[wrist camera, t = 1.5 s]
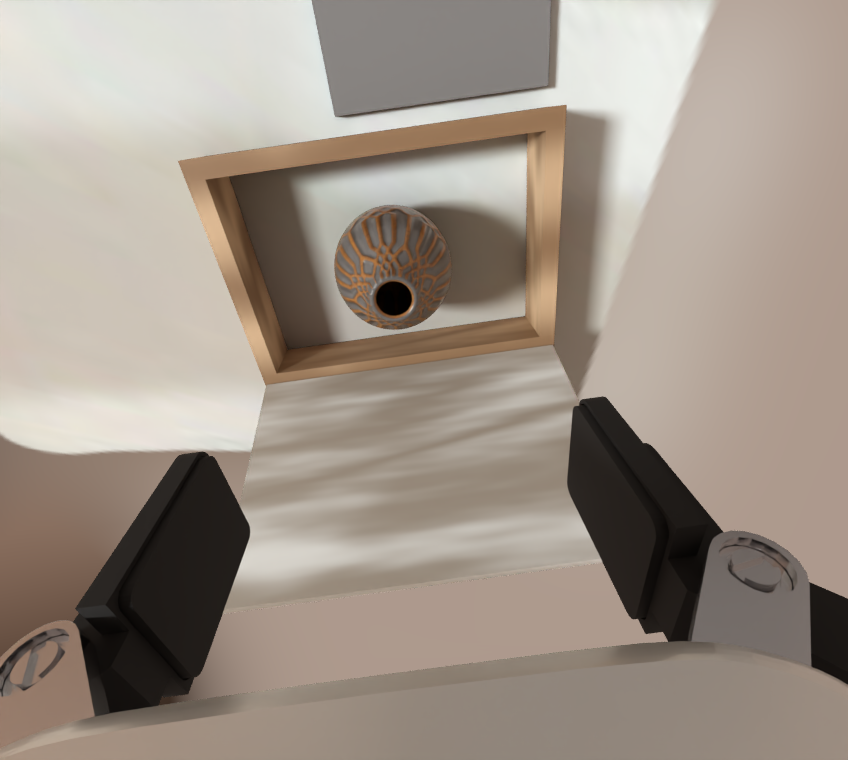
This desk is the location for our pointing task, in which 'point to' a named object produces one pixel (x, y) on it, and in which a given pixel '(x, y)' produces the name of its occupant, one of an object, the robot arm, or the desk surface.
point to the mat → (430, 50)
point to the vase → (393, 267)
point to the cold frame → (403, 409)
